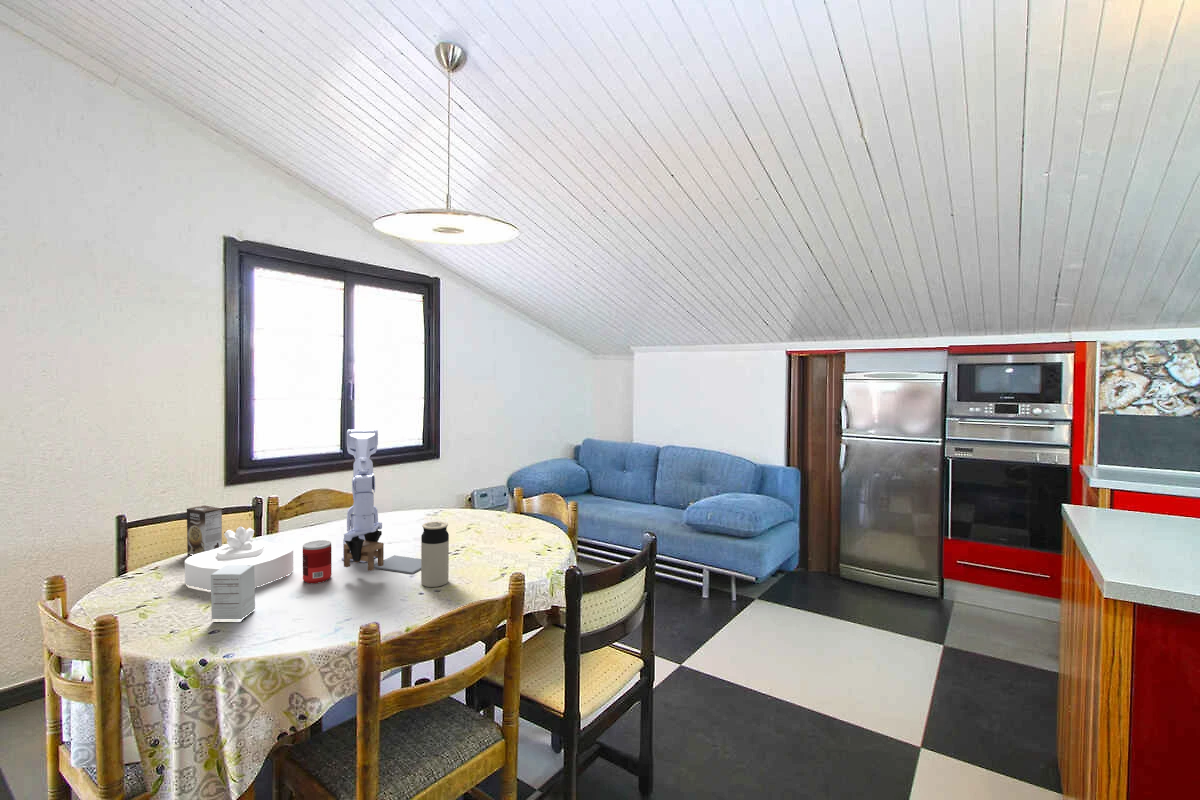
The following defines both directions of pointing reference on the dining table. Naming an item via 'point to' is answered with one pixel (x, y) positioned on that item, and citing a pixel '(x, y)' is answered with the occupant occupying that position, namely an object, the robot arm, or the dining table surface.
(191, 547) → the coffee box
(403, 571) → the mat
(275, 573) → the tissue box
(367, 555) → the stool
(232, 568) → the supplement box
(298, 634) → the dining table surface
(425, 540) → the travel mug
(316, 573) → the canned food
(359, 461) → the robot arm
